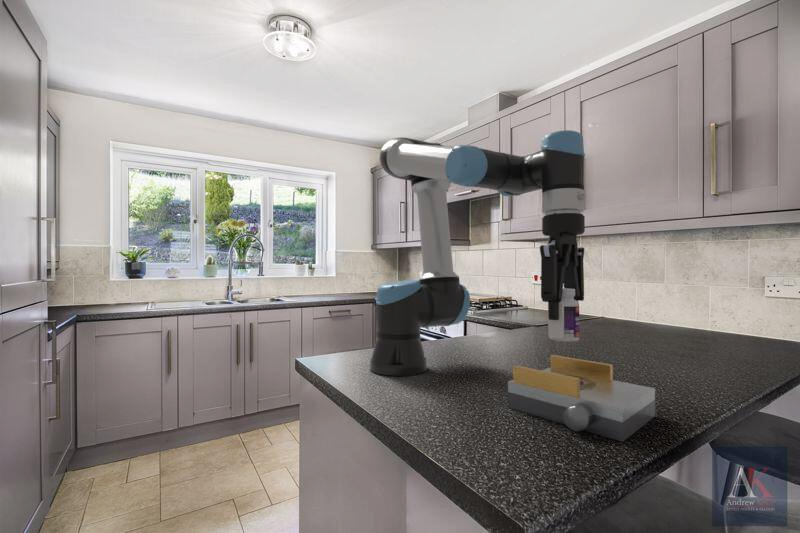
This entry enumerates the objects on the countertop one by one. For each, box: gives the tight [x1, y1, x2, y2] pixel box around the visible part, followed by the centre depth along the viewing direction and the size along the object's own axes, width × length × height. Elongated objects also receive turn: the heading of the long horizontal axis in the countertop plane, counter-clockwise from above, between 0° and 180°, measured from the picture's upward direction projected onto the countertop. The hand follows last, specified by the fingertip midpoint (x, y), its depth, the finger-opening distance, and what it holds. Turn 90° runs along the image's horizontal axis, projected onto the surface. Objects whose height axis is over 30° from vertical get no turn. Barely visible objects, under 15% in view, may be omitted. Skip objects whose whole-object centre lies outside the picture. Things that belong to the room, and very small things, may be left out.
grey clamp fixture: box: [507, 354, 656, 443], centre depth 71 cm, size 20×19×8 cm
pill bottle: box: [549, 287, 581, 342], centre depth 75 cm, size 5×5×10 cm
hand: (563, 335), depth 75 cm, fingers closed on pill bottle, 5 cm apart
